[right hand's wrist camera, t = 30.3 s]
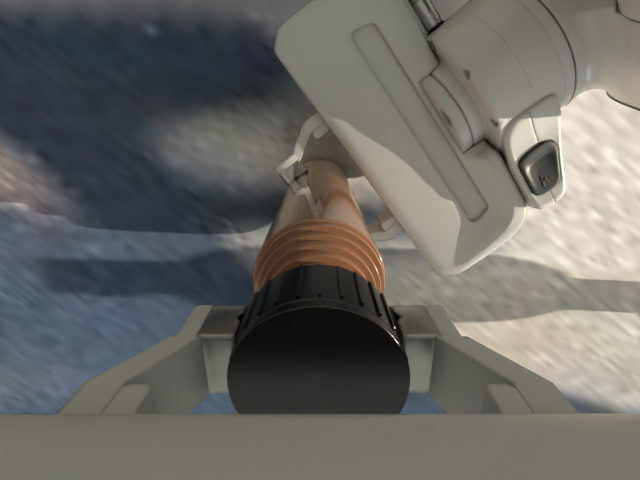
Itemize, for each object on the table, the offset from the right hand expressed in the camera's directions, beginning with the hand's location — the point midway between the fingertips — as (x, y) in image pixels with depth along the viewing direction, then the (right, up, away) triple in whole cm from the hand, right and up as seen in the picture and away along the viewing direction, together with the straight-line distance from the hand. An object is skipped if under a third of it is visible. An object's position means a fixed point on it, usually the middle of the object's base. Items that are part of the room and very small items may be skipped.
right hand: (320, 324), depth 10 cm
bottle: (0, +7, +20) cm, 21 cm away
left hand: (-1, +5, +15) cm, 15 cm away
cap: (0, -1, -2) cm, 2 cm away
